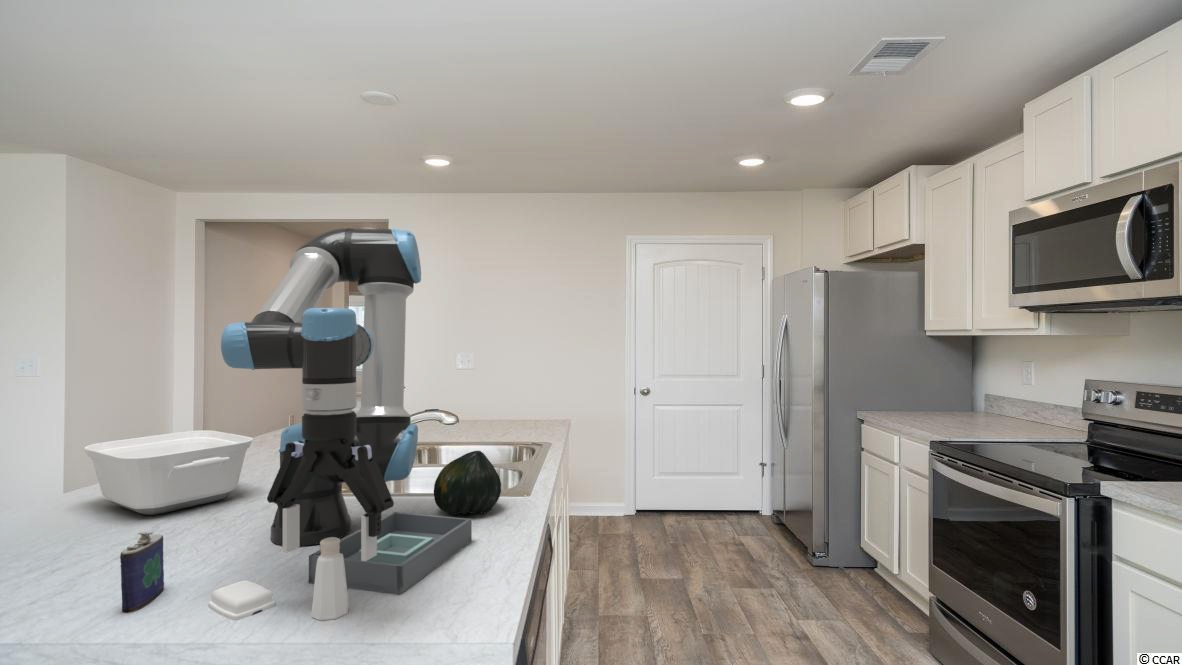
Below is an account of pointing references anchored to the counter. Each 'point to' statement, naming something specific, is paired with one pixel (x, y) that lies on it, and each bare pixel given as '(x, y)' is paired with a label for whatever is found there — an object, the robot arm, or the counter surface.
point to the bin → (401, 551)
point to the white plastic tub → (169, 469)
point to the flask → (142, 572)
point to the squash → (467, 485)
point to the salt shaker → (330, 582)
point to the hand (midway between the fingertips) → (329, 553)
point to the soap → (241, 600)
